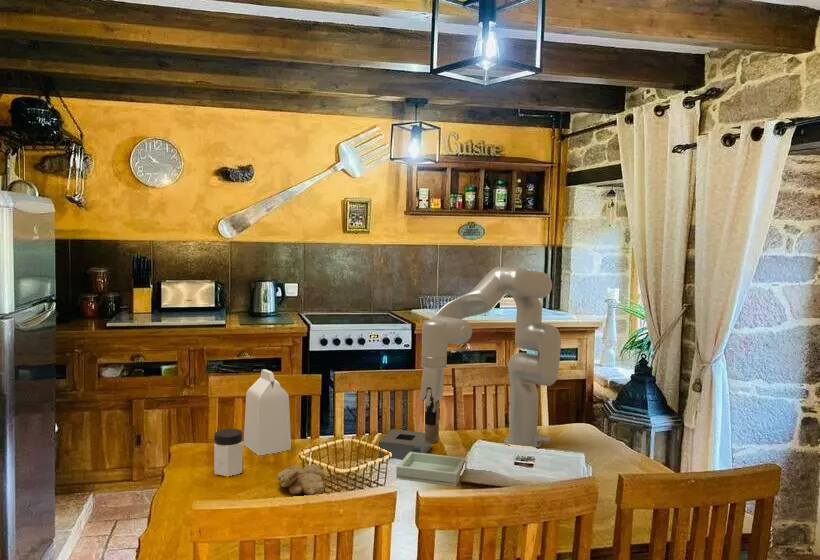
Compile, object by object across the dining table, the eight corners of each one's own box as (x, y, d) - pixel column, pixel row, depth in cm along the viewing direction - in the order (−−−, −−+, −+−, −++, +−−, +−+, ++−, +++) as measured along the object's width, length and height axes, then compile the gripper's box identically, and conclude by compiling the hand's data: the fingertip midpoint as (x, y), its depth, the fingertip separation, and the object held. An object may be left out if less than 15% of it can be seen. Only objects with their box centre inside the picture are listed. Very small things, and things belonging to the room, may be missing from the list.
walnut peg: (439, 440, 198) (440, 401, 197) (436, 444, 194) (437, 404, 193) (426, 439, 199) (427, 400, 198) (423, 443, 195) (424, 403, 194)
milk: (243, 446, 219) (243, 369, 217) (275, 440, 226) (275, 365, 224) (258, 456, 210) (258, 376, 208) (291, 450, 216) (291, 372, 214)
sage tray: (465, 469, 202) (466, 458, 201) (456, 486, 188) (456, 474, 188) (409, 462, 207) (409, 451, 206) (396, 478, 193) (396, 466, 193)
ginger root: (282, 472, 193) (288, 447, 192) (332, 488, 191) (339, 463, 190) (261, 495, 178) (268, 467, 177) (316, 513, 176) (323, 486, 175)
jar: (207, 474, 194) (207, 434, 193) (223, 465, 201) (223, 427, 200) (234, 478, 191) (234, 438, 190) (249, 469, 199) (249, 430, 198)
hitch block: (431, 447, 221) (431, 433, 221) (420, 461, 208) (420, 446, 207) (391, 443, 225) (391, 429, 225) (378, 456, 212) (378, 441, 211)
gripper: (428, 356, 204) (427, 414, 205) (414, 366, 188) (412, 429, 189) (452, 357, 202) (450, 416, 203) (439, 368, 186) (437, 431, 187)
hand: (432, 421), depth 196 cm, fingers closed on walnut peg, 4 cm apart
